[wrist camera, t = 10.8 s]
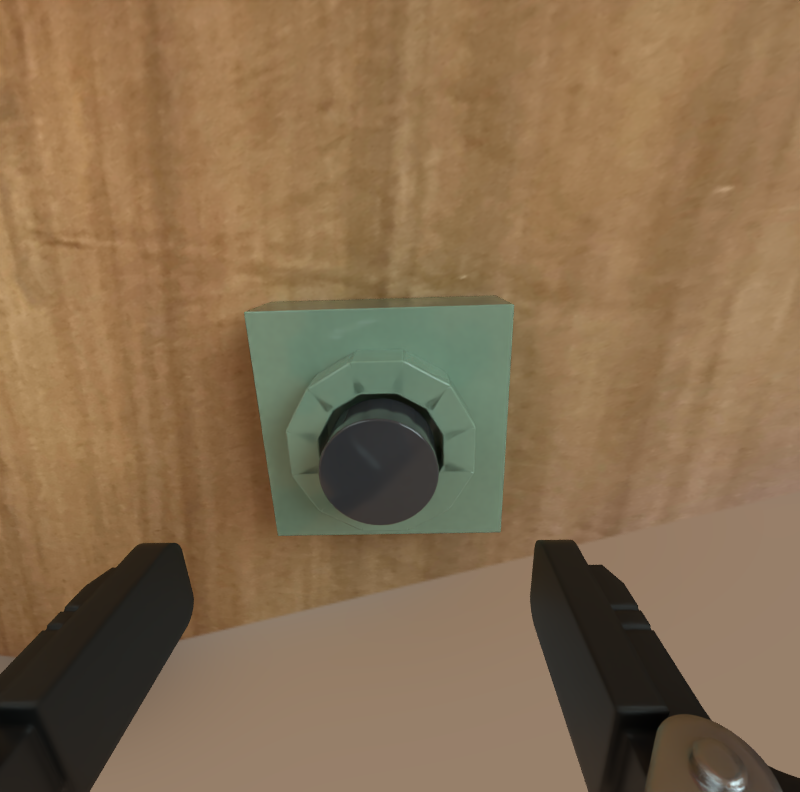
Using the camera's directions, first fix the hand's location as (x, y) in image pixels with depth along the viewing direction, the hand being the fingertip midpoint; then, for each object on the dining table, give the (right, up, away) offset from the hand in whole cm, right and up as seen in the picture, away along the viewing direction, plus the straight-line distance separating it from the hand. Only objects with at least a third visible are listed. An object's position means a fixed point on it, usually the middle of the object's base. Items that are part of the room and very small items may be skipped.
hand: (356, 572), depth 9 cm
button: (0, +2, +6) cm, 7 cm away
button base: (0, +4, +11) cm, 11 cm away
